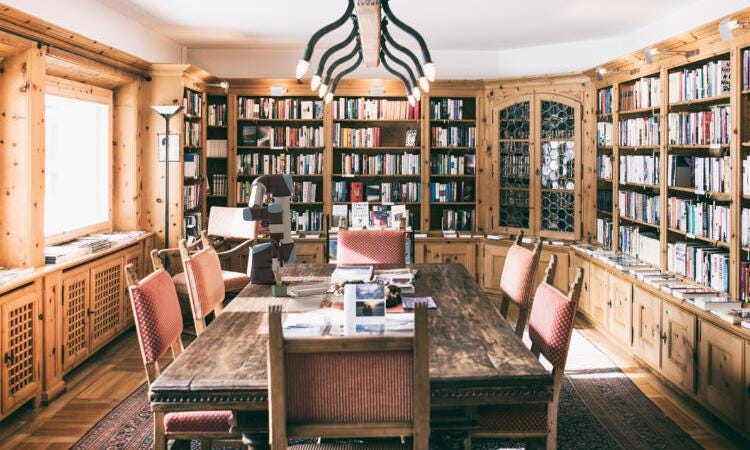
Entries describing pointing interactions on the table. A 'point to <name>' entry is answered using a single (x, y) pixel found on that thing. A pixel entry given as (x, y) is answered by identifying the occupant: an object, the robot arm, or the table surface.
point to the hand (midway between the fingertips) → (278, 271)
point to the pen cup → (279, 290)
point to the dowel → (278, 277)
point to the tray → (311, 289)
